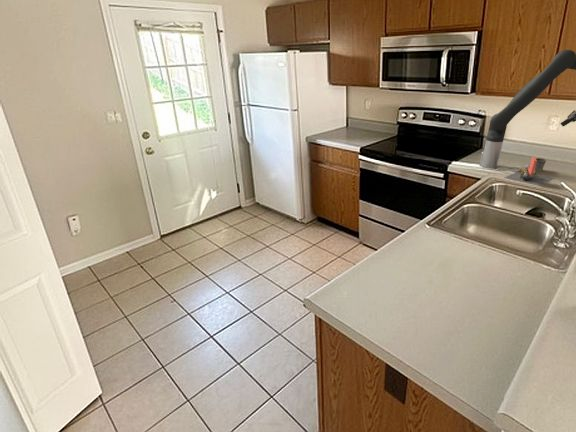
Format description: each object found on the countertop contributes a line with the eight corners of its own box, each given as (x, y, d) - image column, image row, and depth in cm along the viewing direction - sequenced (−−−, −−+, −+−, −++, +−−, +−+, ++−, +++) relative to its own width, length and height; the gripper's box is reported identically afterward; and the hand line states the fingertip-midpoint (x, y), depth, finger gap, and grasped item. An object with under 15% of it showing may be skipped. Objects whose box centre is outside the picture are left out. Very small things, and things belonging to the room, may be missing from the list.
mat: (503, 179, 211) (503, 177, 210) (518, 172, 223) (519, 171, 222) (540, 187, 197) (540, 186, 197) (554, 179, 209) (555, 178, 209)
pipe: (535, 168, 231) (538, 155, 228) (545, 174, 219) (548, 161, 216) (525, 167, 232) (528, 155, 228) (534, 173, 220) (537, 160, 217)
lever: (524, 167, 211) (527, 153, 208) (532, 168, 209) (536, 154, 206) (527, 174, 198) (531, 160, 194) (536, 175, 196) (540, 161, 193)
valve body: (519, 180, 206) (521, 171, 204) (520, 173, 218) (522, 165, 216) (532, 182, 203) (535, 173, 201) (532, 174, 215) (535, 166, 213)
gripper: (586, 96, 199) (553, 118, 207) (596, 98, 187) (561, 121, 196) (595, 106, 199) (562, 128, 208) (605, 109, 188) (569, 132, 196)
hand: (561, 125), depth 202 cm, fingers closed
